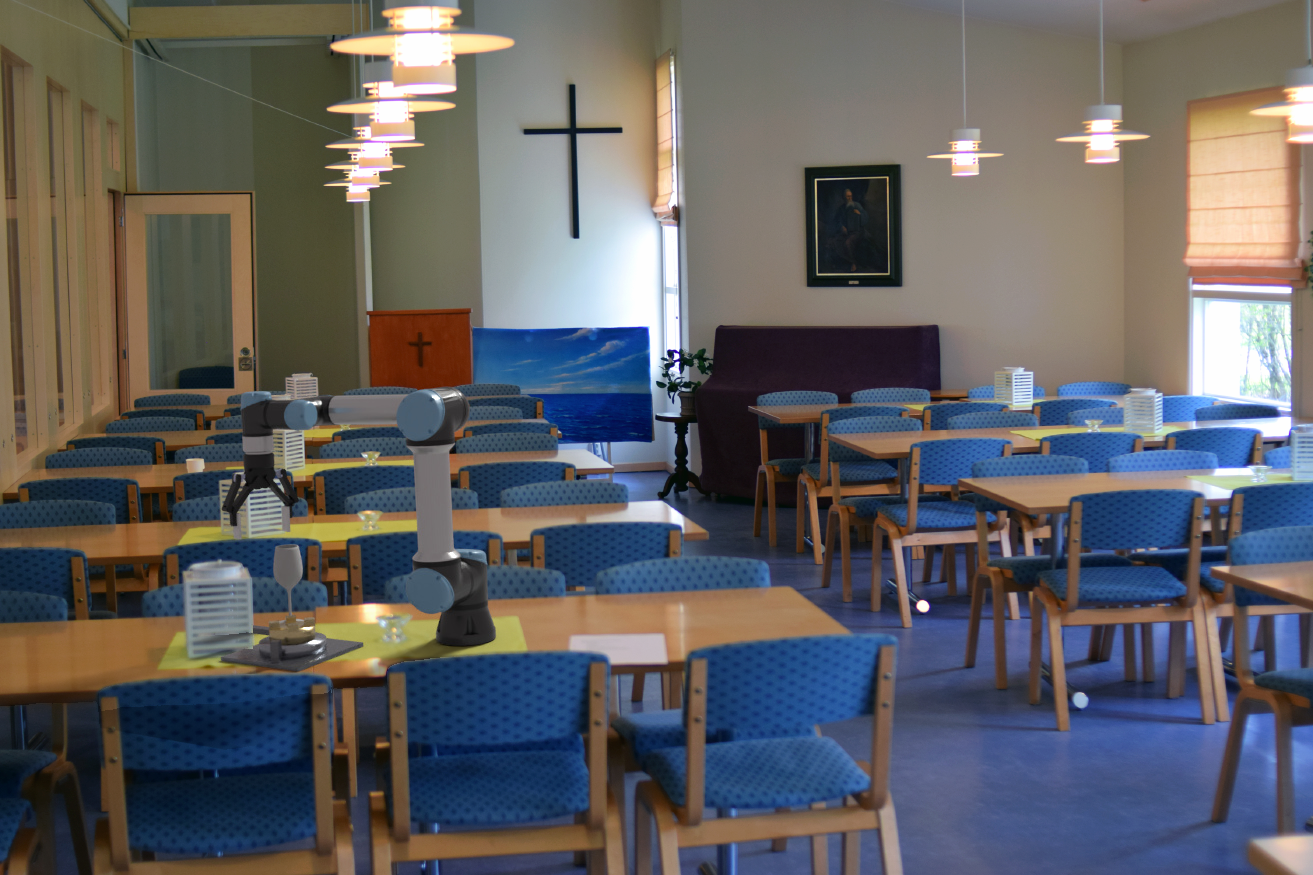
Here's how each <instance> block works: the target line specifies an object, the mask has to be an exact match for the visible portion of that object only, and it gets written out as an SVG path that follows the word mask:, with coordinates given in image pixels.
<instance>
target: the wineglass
mask: <svg viewBox="0 0 1313 875" xmlns="http://www.w3.org/2000/svg"><path fill="white" fill-rule="evenodd" d="M274 548H275V549H274V556H273V567H272V568H273V569H272V570H273V577H274V579H275V581H276V582H277V584H279V585H280V586H281V587H283V588H284V589H285V590H286V592H287V599H288V600H287V602H288V604H287V605H288V616H289V615H293V614H292V611H293V610H292V596H291V595H292V589H293V588H294V587H295V586H297V584H299V582H300V581H301V579H302V577H303V572H304V571H303V570H304V569H303V560H302V556H301V551H300V546H299V545H298V544H281V545H276V546H275V547H274ZM296 621H304V619H301V618H296ZM283 622H286V619H284V620H279V623H283Z"/></svg>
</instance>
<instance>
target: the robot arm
mask: <svg viewBox="0 0 1313 875" xmlns="http://www.w3.org/2000/svg"><path fill="white" fill-rule="evenodd" d="M239 410H240V417H241V425H242V426H241V428H242V434H241V436H242V437H241V438H242V451H243V452H244V453H243V456H242V461H243V469H244V472H243V473H233V474H232V476H231V478H232V479H231V483H230V486H229V489H228V491H227V494H226V496H225V499H224V501H223V504H222V507H221V511H222V512H226V513H228V515H229V525H230V526H231V527H232V530H233V533H232V534H233V539H235V540H242V538H243V536H242V519H241V518H242V517H241V513H239V511H240V509H241V507H242V506H243V504H244V503H245V501H247V499H248V497H249V496H250V494H251V493H253V491H254V490H260V489H265V490H266V489H269V490H271V492H273V494H274V495H275V496H276V497H277V498H278V499H279V500H280V501H281V502H282V504H283V505H281V525H282V526H281V527H282V530H281V531H283V532H287V533H290V532H291V519H293V507H294V506H295V504H298V503H299V502H300V500H299V497H298V495H297V493H296V491H295V489H294V487H293V486H292V484H291V482H290V480H289V478H288V474H287V470H286V468H282V467H281V468H280V467H279V468H277V469H275V454H274V452H273V451H274V450H275V446H274V445H275V444H274V431H275V430H284V431H285V430H286V431H295V432H296V431H297V432H299V431H308V430H311V429H313V427H316V426H337V425H339V426H341V425H347V426H348V425H350V426H351V425H397V427H398V429H399V431H400V432H401V433H402V434H403V437H405V443H406V444H405V446H406V448H407V449H408V450H410V451H411V452H412V454H413V455H412V456H413V473H414V474H413V475H414V490H415V492H414V494H415V495H414V496H415V510H416V511H415V513H416V531H417V548H418V549H417V552H415V554H414V555H413V556H412V571H411V573H410V574H409V576H408V577H407V579H406V582H405V594H406V597H407V599H408V601H409V602H410V604H411V605H412V606H413V607H414V608H415V609H416V610H418V611H420V612H421V613H424V614H426V615H427V614H428V615H435V614H439V613H440V616H439V619H438V620H439V621H438V623H437V627H436V630H435V641H436V642H437V643H439V644H442V645H445V646H454V647H455V646H456V647H458V646H459V647H464V646H465V647H466V646H467V647H468V646H475V645H482V644H486V643H490V642H492V641H494V640H495V639H496V638H497V630H496V626H495V622H494V621H493V617H492V614H491V612H490V609H489V593H488V592H489V591H488V561H487V554H486V552H485V551H483V550H481V549H472V548H471V549H470V548H469V549H468V548H455V547H454V546H455V545H454V544H455V543H454V528H453V526H454V525H453V506H452V505H453V504H452V484H451V465H450V451H451V449H452V448H453V447H454V446H455V445H456V440H455V437H456V436H455V433H456V432H458V431H459V430H460V429H462V428H463V427H464V426H466V424H467V422H468V420H469V418H470V414H471V407H470V403H469V400H468V399H467V397H466V395H465V394H464V393H463V392H462V391H460V390H459V389H457V388H456V387H452V386H441V387H434V388H433V387H432V388H424V389H419V390H415V391H413V392H410V393H409V394H408V393H407V394H365V395H364V394H363V395H361V394H360V395H357V394H356V395H353V394H351V395H330V394H322V395H321V394H320V395H317V396H310V397H302V398H295V399H273V397H272V393H271V392H270V391H265V390H263V391H262V390H260V391H259V390H257V391H256V390H254V391H245V392H243V393H242V394H241V395H240V409H239ZM276 477H277V478H278V481H279V482H280V484H281V486H282V488H283V490H284V491H283V490H282V488H280V487H279V486H278V484H277V483H276V481H274V479H275V478H276ZM243 481H245V483H244V484H243V486H242V489H241V491H240V492H239V490H240V487H241V484H242V482H243Z"/></svg>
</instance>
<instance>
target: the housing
mask: <svg viewBox="0 0 1313 875" xmlns="http://www.w3.org/2000/svg"><path fill="white" fill-rule="evenodd" d="M315 633H316V637H315V638H314V639H313V640H311V641H308V642H303V643H298V644H281V640H272V641H271V642H270V641H269V636H268V635H267V636H265V637H262V639H260V640H259V641H258V644H255V645H252V646H253V649H245V648H243V649H240V650H237V651H234V652H231V653H229V654H225V655H223V656H220V661H221V662H226V663H233V664H240V665H248V666H255V667H262V668H269V669H278V670H285V671H292V672H301V671H304V670H306V669H308V668H311V667H314V666H316V665H319V664H321V663H324V662H326V661H330V660H332V659H334V658H337V657H340V656H343V655H345V654H347V653H350V652H353V651H355V650H358V649H360V648H363V647H364V642H361V641H354V640H346V639H339V638H338V639H337V638H336V639H335V638H329V637H327V636H326V634H324V633H322V632H317V631H315Z"/></svg>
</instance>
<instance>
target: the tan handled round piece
mask: <svg viewBox="0 0 1313 875" xmlns="http://www.w3.org/2000/svg"><path fill="white" fill-rule="evenodd" d="M284 617H285V618H284V620H286V622H283V623H279V621H280V620H268V626H264V625H255V624H252V625H253V635H261V636H262V635H263V636H267V637H268V636H269V641H270V642H271V641H272V640H281V644H298V643H303V642H308V641H311V640H313V639H314V638H315V637H316V633H315V632H316V621H315V620H316V619H315V617H314V616H313V617H311V616H310V617H303V620H304V621H296V619H297V616H296V614H292V615H289V614H288V615H285V616H284Z"/></svg>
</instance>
